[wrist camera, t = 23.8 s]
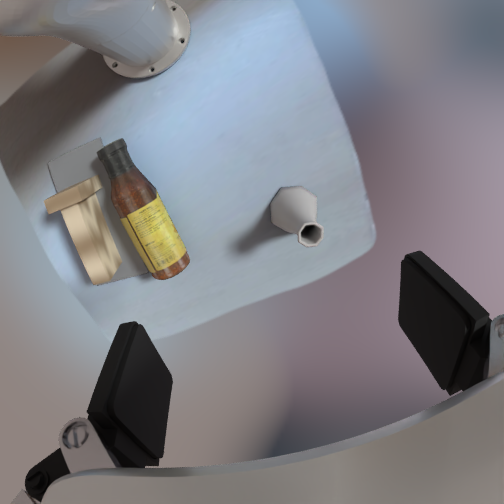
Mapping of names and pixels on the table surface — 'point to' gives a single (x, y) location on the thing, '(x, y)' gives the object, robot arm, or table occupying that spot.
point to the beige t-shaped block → (87, 228)
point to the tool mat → (86, 166)
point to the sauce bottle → (143, 214)
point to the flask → (297, 214)
